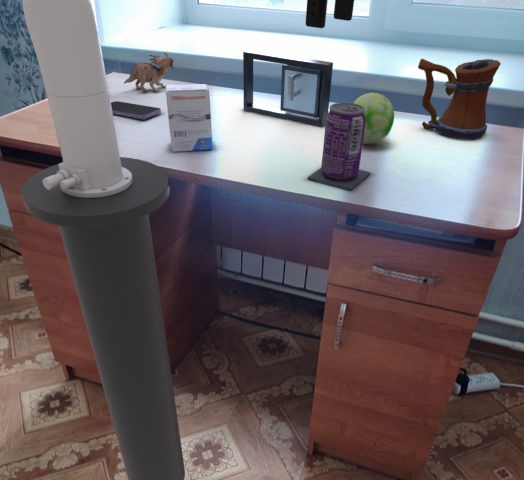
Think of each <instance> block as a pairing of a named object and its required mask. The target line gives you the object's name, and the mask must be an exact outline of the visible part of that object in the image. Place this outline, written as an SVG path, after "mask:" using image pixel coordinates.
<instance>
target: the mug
mask: <svg viewBox="0 0 524 480" xmlns="http://www.w3.org/2000/svg"><path fill="white" fill-rule="evenodd" d="M500 66H501V62H500V61H499V60H498V59H491V58H486V59H476V60H474V61H469V62H463V63H461V64H459V65H457V66H456V68H455V69H454V71H455V73H454V72H453V71H452V70H451V69H450V68H448V67H447V66H445V65H442V64H438V63H434V62H431V61H429V60H427V59H424V58H420V60H419V62H418V66H417V69H419V70H421V71H423V72H424V74H425V81H426V82H425V83H426V84H425V85H426V86H425V90H424V94H423V96H422V102H421V105H422V107H423V109H424V110H426V112H428V114H429V115H430V120H429V121H428V122H426V121H422V122H421V125H422V128H423V129H424V130H435V131H436V133H438V135H440V136H444V137H447V138H451V139H459V140H467V141H468V140H470V141H474V140H478V139H481V138H482V137H483V136H484V135H485V134H486V132H487V129H488V124H486V122H487V118H486V115H487V114H486V107H487V100H488V99H487V98H488V95H489V94H488V93H489V90H490V88H491V85H493V82H494V77H495V75H496V73H497V72H498V70H499V68H500ZM433 72H438V73H440V74H443V75H445V76H446V77H447V81H446V82H444V87H445V89H444V91H445V93H446V95H447V96H448V97H450V96H451V95H452V97H451V100H450V102H449V105H448V106H447V108H446V109H445V111H443V113H442V115H441V116H439V117H438V115H437V111H436V109H435V107H434V105H433V104H432V103H431V99H432V96H433V93H434V88H435V79H434V76H433Z"/></svg>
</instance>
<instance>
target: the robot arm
mask: <svg viewBox="0 0 524 480" xmlns="http://www.w3.org/2000/svg"><path fill="white" fill-rule="evenodd" d="M21 1H22V11H23V15H24V19H25V23H26V27H27V30H28V33H29V35H30V36H29V37H30V39H31V42H32V46H33V49H34V52H35V55H36V58H37V62H38V67H39V70H40V73H41V74H40V75H41V78H42V82H43V86H44V90H45V94H46V97H47V101H48V106H49V109H50V114H51V118H52V121H53V127H54V130H55V134H56V138H57V142H58V146H59V151H60V155H61V158H62V162H60V163H57V164H58V165H59V169H60V170H59V171H57V173H56V174H55V175H51V176H49V177H47V178H44V179H43V181H42V182H43V185H44V187H45V188H46V189H47V190H51V189H53V188H56V187H58V186H59V185H60V188H61V190H62V191H63V192H64V193H66V194H68V195H71V196H74V197H80V198H99V197H106V196H111V195H114V194H117V193H120V192H122V191H124V190H126V189H127V188H128V187H129V186H130V185H131V184H132V182H133V179H132V174H131V172H130V171H129V170H127V169H126V168H124V167H122V166H121V160H120V157H121V155H120V148H119V144H118V137H117V132H116V131H117V130H116V125H115V119H114V114H113V113H112V107H111V97H110V90H109V85H108V80H107V79H108V78H107V74H106V72H107V71H106V67H105V61H104V57H103V50H102V45H101V39H100V34H99V28H98V20H97V12H96V0H21ZM354 5H355V0H334V9H333V19H334V20H341V21H346V22H349V21H352V20H353V12H354ZM327 9H328V0H306V12H305V26H306V27H309V28H314V29H315V28H316V29H324V28H325V27H326V21H327V20H326V19H327V11H328V10H327Z"/></svg>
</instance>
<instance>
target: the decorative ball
mask: <svg viewBox="0 0 524 480" xmlns="http://www.w3.org/2000/svg"><path fill="white" fill-rule="evenodd" d="M353 103H354V104H358V105H361V106H363V107H364V108H365V112H364V114H365V118H366V124H365V131H364V138H363V145H372V144H373V145H374V144H377V143H379V142H381V141H382V140H383V139H384V138H386V137H387V136H389V134H390V132H391V131H392V128H393V126H394V122H395V111H394V107H393V104H392V102H391V101H390V99H389V98H387V97H386V96H385V95H384V94H381V93H379V92H378V93H377V92H369V93H367V92H366V93H363V94H362V95H360V96H359V97H357V98H356V99H355V101H354V102H353Z"/></svg>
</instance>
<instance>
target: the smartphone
mask: <svg viewBox="0 0 524 480" xmlns="http://www.w3.org/2000/svg"><path fill="white" fill-rule="evenodd" d="M111 107H112V113H113V115H119V116H123V117H129V118H134V119H137V120H138V119H139V120H142V121H143V120H147V119H148V118H151V117H153V116H155V115H158V114H161V113H162V109H161V108H160V107H155V106H149V105H144V104H138V103H131V102H125V101H119V100H118V101H117V100H116V101H112V102H111Z"/></svg>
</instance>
